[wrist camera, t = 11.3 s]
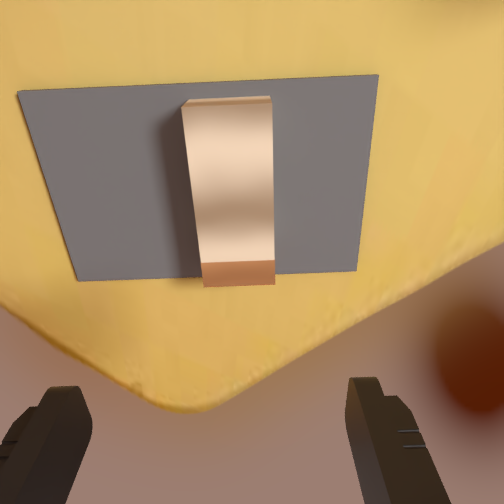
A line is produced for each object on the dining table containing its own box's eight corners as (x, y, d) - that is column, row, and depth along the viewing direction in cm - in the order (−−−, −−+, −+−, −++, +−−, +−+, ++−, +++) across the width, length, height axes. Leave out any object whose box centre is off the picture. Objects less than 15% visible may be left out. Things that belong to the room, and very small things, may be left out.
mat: (80, 278, 30) (78, 281, 30) (21, 90, 24) (16, 91, 23) (354, 267, 30) (356, 271, 30) (376, 74, 23) (378, 75, 23)
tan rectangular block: (188, 99, 23) (180, 107, 21) (270, 95, 23) (272, 103, 21) (208, 264, 29) (203, 287, 27) (273, 262, 29) (275, 284, 27)
